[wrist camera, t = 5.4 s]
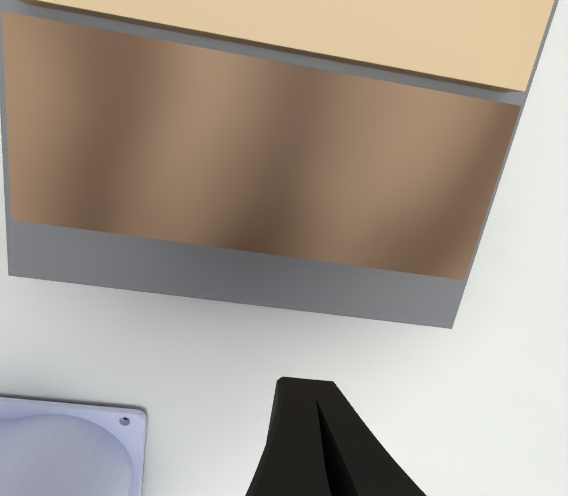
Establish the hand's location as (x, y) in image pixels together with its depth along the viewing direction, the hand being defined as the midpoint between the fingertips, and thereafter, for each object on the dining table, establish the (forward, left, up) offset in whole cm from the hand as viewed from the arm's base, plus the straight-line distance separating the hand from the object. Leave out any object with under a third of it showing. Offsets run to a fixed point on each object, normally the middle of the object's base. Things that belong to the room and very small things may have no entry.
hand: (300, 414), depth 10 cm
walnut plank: (-1, +5, -9) cm, 10 cm away
